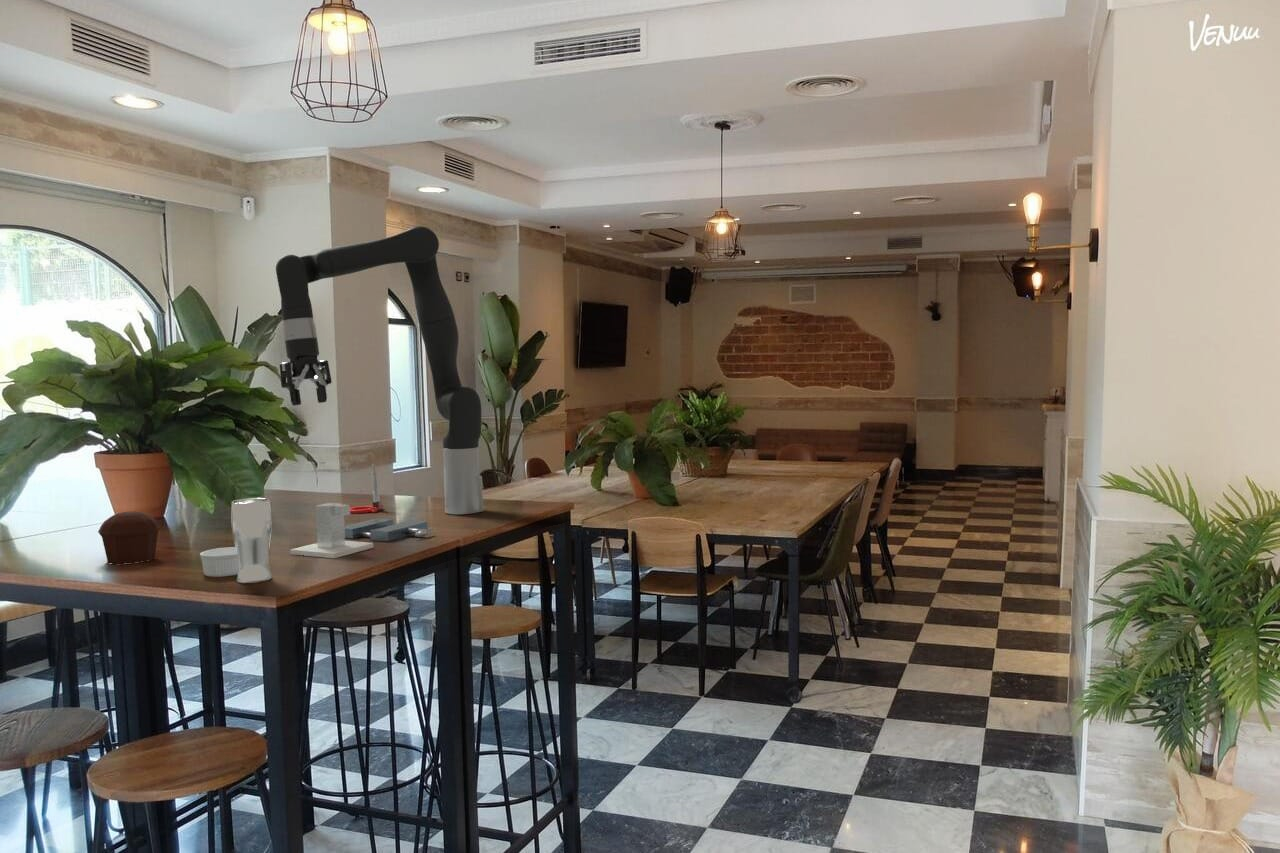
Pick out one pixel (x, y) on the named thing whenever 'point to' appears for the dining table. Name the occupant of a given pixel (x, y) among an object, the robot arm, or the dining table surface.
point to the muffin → (129, 537)
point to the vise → (386, 529)
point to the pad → (331, 553)
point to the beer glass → (252, 538)
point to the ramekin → (220, 562)
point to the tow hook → (376, 503)
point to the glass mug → (331, 524)
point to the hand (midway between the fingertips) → (309, 403)
